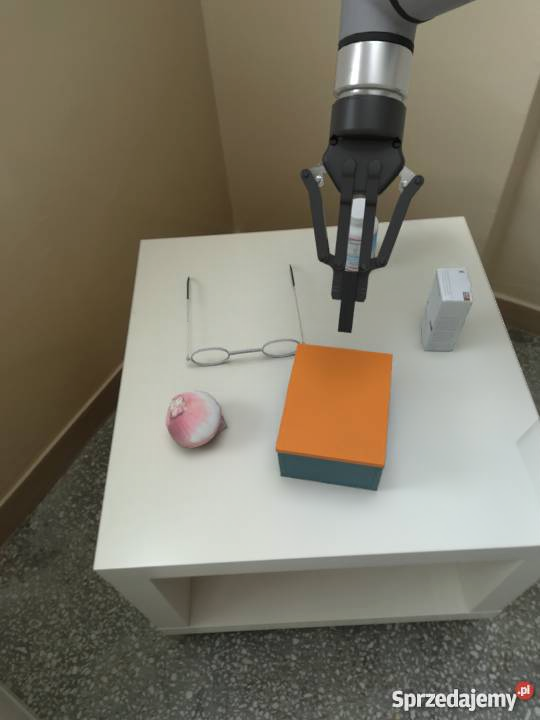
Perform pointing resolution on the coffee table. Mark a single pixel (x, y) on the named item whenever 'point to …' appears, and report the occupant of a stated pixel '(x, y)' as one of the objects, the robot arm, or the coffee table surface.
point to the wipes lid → (337, 405)
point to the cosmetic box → (446, 309)
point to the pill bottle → (358, 235)
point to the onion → (194, 418)
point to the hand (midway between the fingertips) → (345, 330)
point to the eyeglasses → (247, 349)
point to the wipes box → (329, 471)
